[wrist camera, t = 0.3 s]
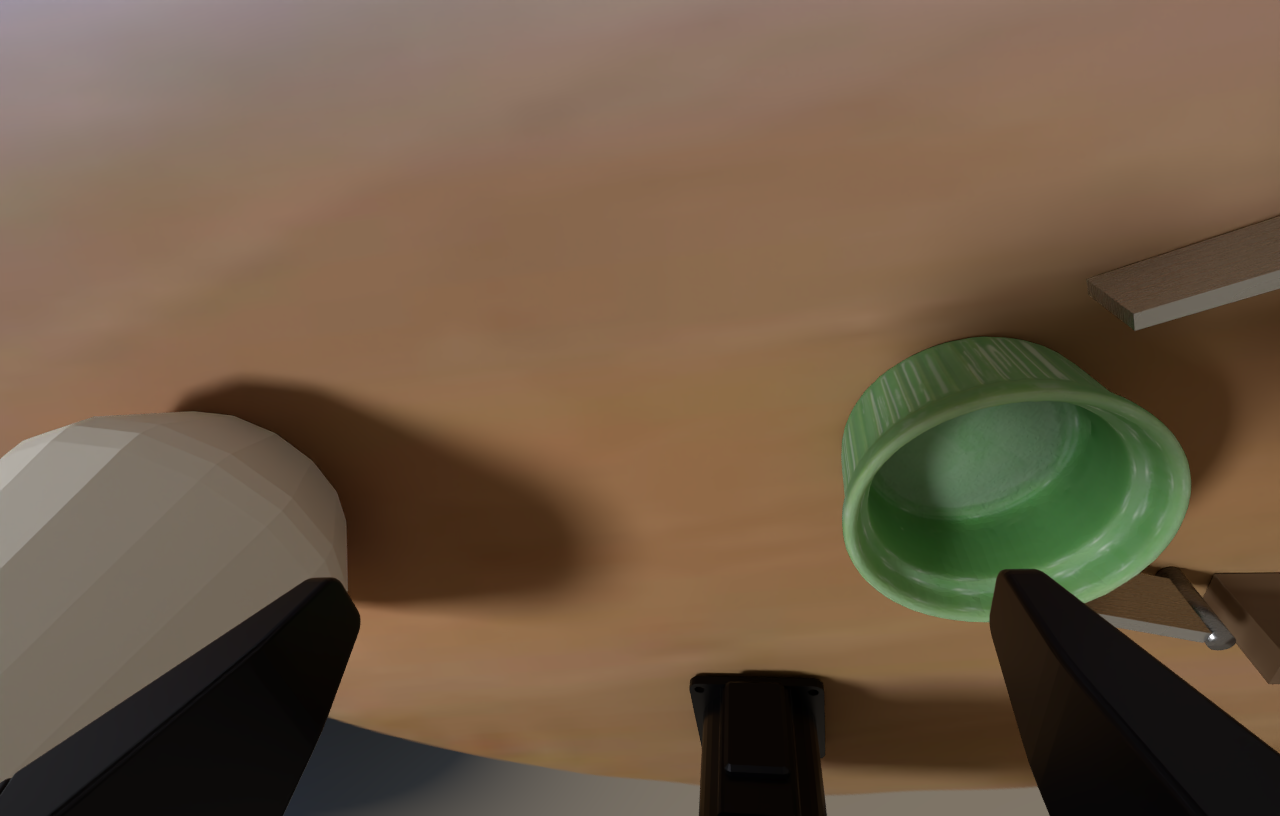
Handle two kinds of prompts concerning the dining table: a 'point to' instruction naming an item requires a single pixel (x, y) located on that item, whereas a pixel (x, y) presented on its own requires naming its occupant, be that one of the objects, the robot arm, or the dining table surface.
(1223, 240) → the bar
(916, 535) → the ramekin
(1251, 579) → the walnut dock
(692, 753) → the dining table surface
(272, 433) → the cup
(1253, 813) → the robot arm
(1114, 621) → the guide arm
